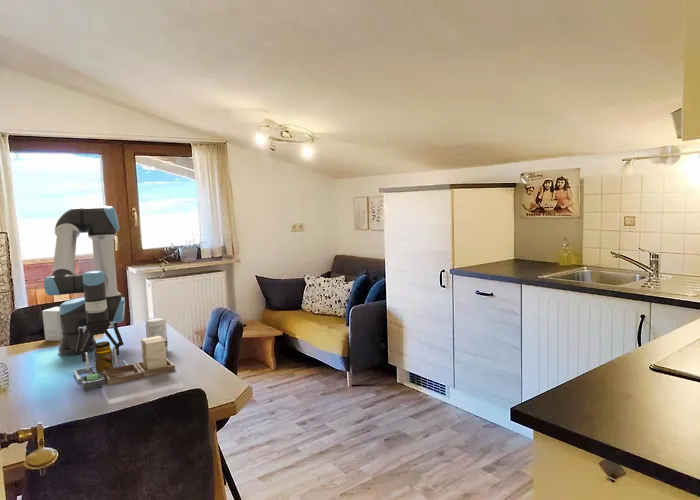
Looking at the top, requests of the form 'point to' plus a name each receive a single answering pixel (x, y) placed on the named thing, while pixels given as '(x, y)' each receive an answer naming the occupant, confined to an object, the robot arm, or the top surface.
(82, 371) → the frame
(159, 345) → the block
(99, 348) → the condiment
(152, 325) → the supplement can
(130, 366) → the brown divided tray
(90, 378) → the button
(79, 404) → the top surface
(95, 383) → the button housing
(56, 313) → the supplement box
